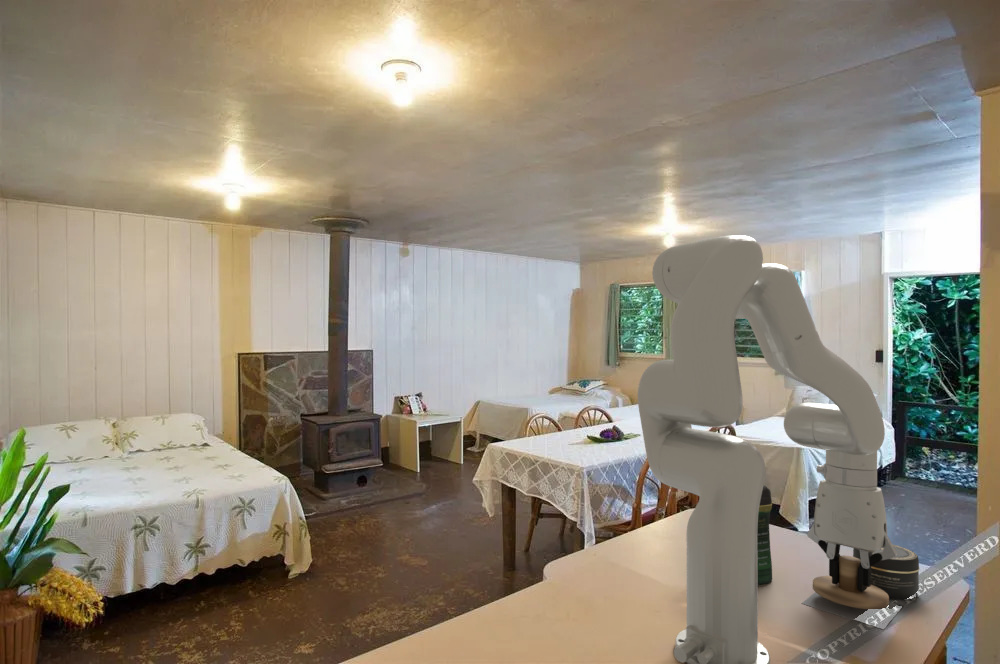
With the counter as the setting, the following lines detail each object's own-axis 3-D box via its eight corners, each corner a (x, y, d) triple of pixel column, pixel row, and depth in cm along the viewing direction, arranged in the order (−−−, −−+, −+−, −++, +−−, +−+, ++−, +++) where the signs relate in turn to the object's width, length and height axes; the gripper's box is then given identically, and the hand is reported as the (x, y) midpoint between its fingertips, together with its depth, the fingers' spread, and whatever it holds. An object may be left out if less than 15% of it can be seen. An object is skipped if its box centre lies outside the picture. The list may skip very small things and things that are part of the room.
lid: (878, 615, 88) (878, 576, 89) (802, 592, 96) (803, 556, 97) (896, 596, 96) (897, 561, 96) (825, 576, 104) (825, 543, 104)
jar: (854, 576, 110) (854, 536, 110) (918, 589, 104) (917, 547, 105) (851, 594, 102) (851, 552, 102) (921, 610, 96) (920, 564, 96)
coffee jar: (780, 585, 106) (780, 485, 106) (745, 590, 103) (745, 488, 104) (743, 565, 115) (743, 473, 115) (710, 570, 112) (710, 476, 113)
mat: (884, 633, 88) (884, 629, 88) (801, 606, 97) (801, 603, 97) (903, 609, 96) (903, 606, 96) (825, 587, 105) (825, 583, 105)
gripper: (791, 471, 100) (790, 576, 100) (902, 489, 88) (902, 609, 88) (807, 466, 105) (805, 566, 105) (914, 483, 93) (913, 596, 93)
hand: (849, 584), depth 96 cm, fingers closed on lid, 3 cm apart
